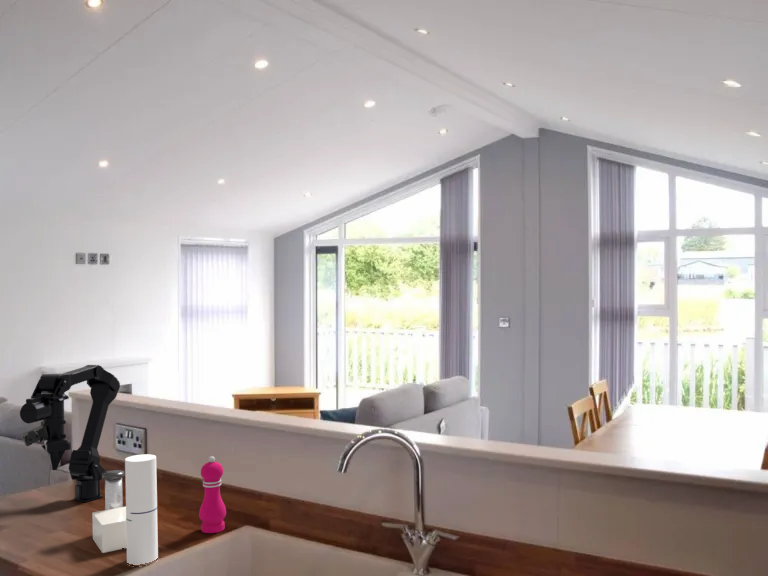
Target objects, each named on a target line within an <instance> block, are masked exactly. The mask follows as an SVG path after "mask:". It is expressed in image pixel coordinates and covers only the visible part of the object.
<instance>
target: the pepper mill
mask: <svg viewBox="0 0 768 576" xmlns="http://www.w3.org/2000/svg"><path fill="white" fill-rule="evenodd" d="M207 459H208V462H206V463H204V464H203V465H202V466H201V468H200V476H201V478H202V479H203V480H202V487H203V488H204V497H203V500H202V502H201V505H200V508H199V511H198V518H199V519H200V521H202V522H201V523H200V530H201V532H202V533H203V534H204V533H205V534H217V533H221V532H223V531H224V530H225V526H226V525H225V521H224V519H225V518H226V517H227V516H226V515H227V508H226V504H225V503H224V501H223V498H222V496H221V486H222V479H221V477H222V476H223V475H224V468H223V466H222V464H221V463H220V462H217V461H216V458H215V456H213V455H211V456H209V457H208V458H207Z"/></svg>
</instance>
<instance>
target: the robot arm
mask: <svg viewBox="0 0 768 576" xmlns="http://www.w3.org/2000/svg"><path fill="white" fill-rule="evenodd" d="M37 381H38V382H37V383H36V385H35V387H34V390H33V392H32V394H31V396H30V398H26V399H25V404H23V405H22V406H21V409H20V411H19V416H20V419H21V420H22V422H24V423H25V424H29V425H30V424H33V423H37V422H40V425H39V426H36V427H33V428H31V429H29V430H27V431H24V432H23V433H21V434H20V436H21V438H22V441H23V442H24V445H25V446H26V447H30V446H31V445H33V444H34V443H36V442H39V443H40V444H41V443H42V441H43V442H44V444H42V445H41V448H42V449H43V451H44V452H46V453H47V454H48V458H49V463H50V466H51V469H52V471H57V469H58V468H59V465H60V464H61V461H62V458H63V456H64V454H65V452H66V451H69V450H71V449H72V445H71V441H70V440H68V439H67V434H66V433H65V432H66V431H65V425H66V424H67V423H66V419H65V401H66V400H68V399H69V396H68V394H65V393H66V392H68V391H70V390H71V388H72V386H74V385H78V384H80V383H84V382H86V385H88V387H89V388H90V392H89V394H90V396H91V401H92V404H91V407H90V410H89V411H90V412H89V415H88V418H87V422H86V425H85V426H86V427H85V428H84V433H83V436H82V440H81V444H80V446H79V447H78V449H73V450H72V451H71V453H70V458H69V461H68V471H69V474H70V478H71V480H72V481H76V482H75V483H76V484H75V486H74V497H73V499H74V500H76V501H79V502H83V503H87V502H90V501H94V500H98V499H101V498H103V497H104V495H102V494H101V481H102V480H103V478H102V474H103V473H104V472H106V470H105V469H104V467H102V465H101V464H100V460H101V457H100V454H99V451H98V447H99V443H100V439H101V436H102V432H103V427H104V425H105V421H106V417H107V413H108V408H109V406H110V404H111V403H112V402H114V400H116V398H117V396H118V394H119V390H120V387H121V382H120V381H119V380H118V377H116V376H115V375H114V374H113V373H111V372H109V371H107V370H105V368H104V367H102V366H101V365H99V364H87V365H85V366H83V367H79V368H75V369H73V370H70V371H67V372H63V373H45V374H42V375H41V376H40V377H39V379H38V380H37Z"/></svg>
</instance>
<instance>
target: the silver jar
mask: <svg viewBox="0 0 768 576" xmlns="http://www.w3.org/2000/svg"><path fill="white" fill-rule="evenodd" d="M124 477H125V470H121V469H112V470H106V471H105V472H104V473H103V474H102V480H104V499H105V500H104V503H105V506H104V510H109V509H114V508H120V507H124V505H123V503H124V502H123V500H124V499H123V498H124V497H123V478H124Z"/></svg>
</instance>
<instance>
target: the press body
mask: <svg viewBox="0 0 768 576" xmlns="http://www.w3.org/2000/svg"><path fill="white" fill-rule="evenodd" d="M91 517H92V539H93V541H94V542H95V544H96V546H97V547H98V549H99V551H101V553H102V554H104V553H105V554H106V553H109V552H113V551H118V550H123V549H122V548H124V549H127V537H126V505H125V506H123V507H120V508H114V509H109V510H105V509H104V510H98V511H94V512H92V516H91Z"/></svg>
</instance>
